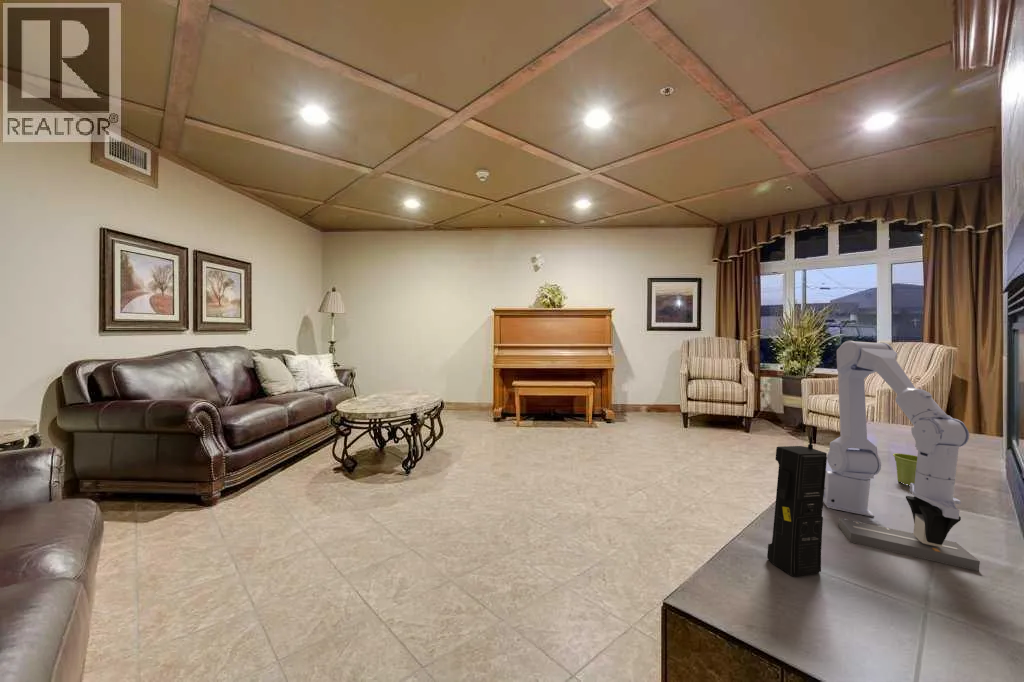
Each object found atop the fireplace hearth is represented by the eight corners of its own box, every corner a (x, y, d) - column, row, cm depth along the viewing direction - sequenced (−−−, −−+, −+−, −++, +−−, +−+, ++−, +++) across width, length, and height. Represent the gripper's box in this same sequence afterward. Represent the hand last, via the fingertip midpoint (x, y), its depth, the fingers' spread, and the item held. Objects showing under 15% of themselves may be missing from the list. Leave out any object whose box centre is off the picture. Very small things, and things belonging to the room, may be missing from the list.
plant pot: (883, 479, 129) (885, 453, 128) (902, 478, 132) (904, 452, 131) (920, 491, 120) (922, 463, 119) (939, 489, 123) (942, 462, 122)
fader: (922, 543, 83) (924, 521, 83) (912, 534, 87) (915, 513, 86) (942, 547, 82) (945, 525, 81) (932, 538, 85) (934, 516, 85)
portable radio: (790, 579, 71) (803, 443, 70) (761, 560, 77) (772, 433, 76) (823, 575, 73) (835, 442, 72) (792, 556, 79) (803, 433, 78)
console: (850, 541, 86) (851, 532, 86) (838, 526, 94) (839, 517, 94) (978, 571, 78) (979, 560, 78) (955, 551, 85) (956, 541, 85)
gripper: (984, 491, 75) (976, 561, 76) (941, 468, 88) (935, 528, 89) (933, 483, 78) (926, 550, 79) (900, 462, 91) (894, 519, 92)
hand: (928, 537), depth 84 cm, fingers closed on fader, 4 cm apart
